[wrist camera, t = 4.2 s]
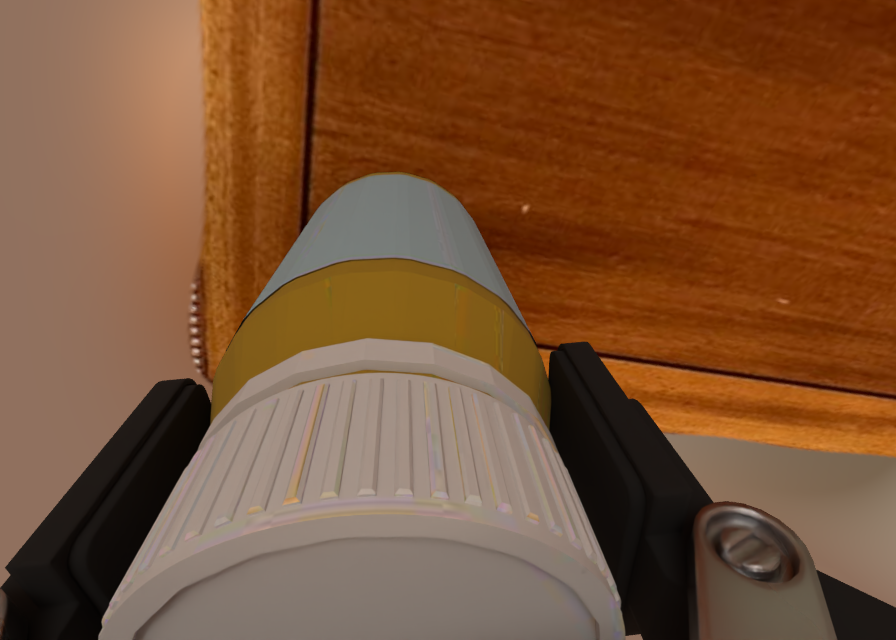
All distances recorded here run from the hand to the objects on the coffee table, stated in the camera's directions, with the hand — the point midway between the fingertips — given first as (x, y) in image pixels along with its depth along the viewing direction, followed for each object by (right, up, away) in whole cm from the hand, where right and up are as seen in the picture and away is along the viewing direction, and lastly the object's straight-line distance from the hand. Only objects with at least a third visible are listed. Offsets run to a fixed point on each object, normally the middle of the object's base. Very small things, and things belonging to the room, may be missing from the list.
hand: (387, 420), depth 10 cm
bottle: (-1, +5, +9) cm, 10 cm away
